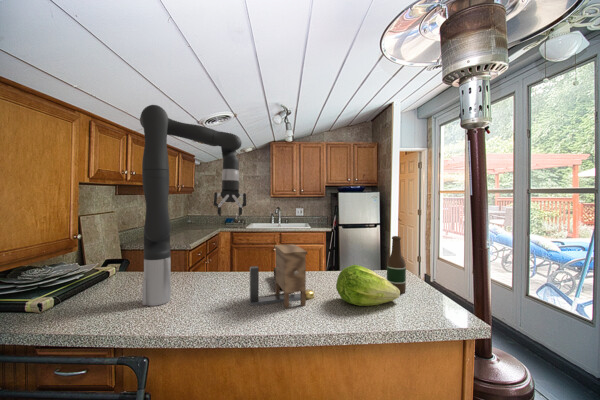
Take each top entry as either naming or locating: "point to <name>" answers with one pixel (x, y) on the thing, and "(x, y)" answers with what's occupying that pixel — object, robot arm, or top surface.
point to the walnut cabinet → (290, 271)
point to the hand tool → (275, 277)
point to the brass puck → (309, 294)
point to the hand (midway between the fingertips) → (229, 215)
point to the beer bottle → (396, 266)
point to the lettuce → (364, 287)
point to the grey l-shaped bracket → (255, 291)
